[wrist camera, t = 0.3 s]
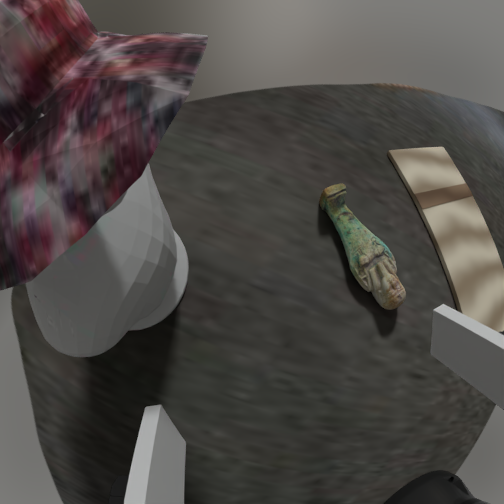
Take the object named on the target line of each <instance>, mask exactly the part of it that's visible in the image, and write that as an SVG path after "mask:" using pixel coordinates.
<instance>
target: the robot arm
mask: <svg viewBox="0 0 504 504" xmlns="http://www.w3.org/2000/svg"><path fill="white" fill-rule="evenodd" d="M430 354H431V355H432V356H434V357H435V358H436V359H438V360H439V361H440V362H442V363H443V364H444V365H446V366H447V367H448V368H450V369H451V370H452V371H454V372H455V373H456V374H458V375H459V376H460V377H462V378H463V379H464V380H466V381H467V382H468V383H470V384H471V385H472V386H473V387H475V388H476V389H477V390H479V391H480V392H481V393H483V394H484V395H485V396H486V397H488V398H489V399H490V400H492V401H493V402H494V403H495V404H497V405H498V406H499V407H500V408H502V409H503V410H504V332H501V331H500V332H497V331H495V330H493V329H491V328H489V327H487V326H485V325H483V324H481V323H479V322H478V321H476V320H474V319H472V318H470V317H468V316H466V315H464V314H462V313H460V312H458V311H456V310H454V309H452V308H450V307H448V306H446V305H444V304H443V305H441V306H439V307H437V308H436V309H434V310H433V327H432V341H431V352H430ZM185 452H186V442H185V440H184V439H183V438H182V436H181V435H180V433H179V432H178V430H177V429H176V427H175V426H174V424H173V423H172V421H171V420H170V418H169V417H168V415H167V413H166V412H165V410H164V409H163V407H162V405H155V406H148V407H145V411H144V414H143V418H142V422H141V426H140V430H139V434H138V438H137V443H136V447H135V451H134V456H133V460H132V465H131V469H130V474H129V476H120V475H119V476H118V478H117V479H116V480H115V482H114V483H113V485H112V489H111V493H110V496H111V497H109V502H108V504H184V479H185ZM384 504H489V503H487V502H484V501H481V500H479V499H477V498H474V496H473V495H472V494H471V492H470V491H469V490H468V488H467V487H466V486H465V484H464V483H463V482H462V480H461V479H460V478H459V477H458V476H456V475H454V474H452V473H450V472H447V471H443V470H439V471H433V472H430V473H427V474H425V475H422V476H420V477H418V478H416V479H415V480H413V481H411V482H410V483H408V484H407V485H405V486H404V487H403V488H401V489H400V490H399V491H397V492H396V493H395V494H394V495H393V496H392V497H390V498H389V499H388V500H387V501H386V502H385V503H384Z"/></svg>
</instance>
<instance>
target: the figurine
mask: <svg viewBox="0 0 504 504" xmlns="http://www.w3.org/2000/svg"><path fill="white" fill-rule="evenodd" d="M345 196H346V186H345V185H344V184H342V183H341V184H337V185H333V186H330V187H328V188H326V189H324V190H323V192H322V194H321V197H320V201H319V204H320V206H321V208H322V210H324V211H326V212H327V213H328V215H329V216H330V218H331V220H332V221H333V223H334V225H335V228H336V229H337V231H338V233H339V235H340V237H341V240H342V242H343V245H344V248H345V251H346V255H347V258H348V261H349V266H350V270H351V272H352V273H353V275H354V276H355V278H356V279H357V281H358V282H359V284H360V285H361V286H362V287H363V288H364V289H365V290H366V291H368V292H372V294H373V296H374V298H375V299H376V301H377V302H378V303H379V304H380V305H381V306H382V307H383V308H384V309H387V310H392V309H395V308H397V307H399V306H400V305H401V304H402V303H403V301H404V300H405V297H406V291H405V289H404V287H403V286H402V284H401V283H400V281H399V279H398V277H397V276H396V273H397V268H396V262H395V259H394V256H393V255H392V253H391V252H390V250H389V248H388V247H387V246H386V245H385V244H384V243H383V242H382V241H381V240H380V239H379V238H377V237H376V236H375V235H374V234H372V233H371V232H370V231H369V230H368V229H367V228H366V227H365V226H363V225H362V224H361V223H360V221H359V220H358V219H357V218H356V217H355V216H354V215H353V213H352V212H351V211H350V210H349V209H348V208H347V207H346V206H345Z"/></svg>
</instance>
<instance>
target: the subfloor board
mask: <svg viewBox="0 0 504 504" xmlns="http://www.w3.org/2000/svg"><path fill="white" fill-rule="evenodd" d="M387 155H388V157H389V158H390V160H391V161H392V163H393V165H394V166H395V168H396V170H397V172H398V173H399V175H400V177H401V178H402V180H403V182H404V184H405V186H406V187H407V189H408V191H409V193H410V195H411V197H412V199H413V201H414V203H415V205H416V206H417V208H418V210H419V213H420V215H421V217H422V219H423V221H424V223H425V225H426V227H427V229H428V232H429V234H430V236H431V238H432V241H433V243H434V245H435V248H436V250H437V253H438V255H439V258H440V260H441V263H442V265H443V268H444V271H445V273H446V276H447V279H448V282H449V285H450V287H451V290H452V293H453V297H454V300H455V303H456V306H457V310H458V312H460V313H462V314H464V315H466V316H468V317H470V318H472V319H474V320H476V321H478V322H479V323H481V324H483V325H485V326H487V327H489V328H491V329H493V330H495V331H497V332H500V331H501V332H503V331H504V269H503V266H502V263H501V260H500V257H499V254H498V252H497V249H496V247H495V244H494V241H493V239H492V237H491V234H490V232H489V229H488V227H487V225H486V223H485V220H484V218H483V216H482V214H481V212H480V210H479V208H478V206H477V204H476V202H475V200H474V198H473V195H472V193H471V191H470V189H469V188H468V186H467V184H466V183H465V181H464V180H463V178H462V176H461V174H460V173H459V171H458V169H457V168H456V166H455V164H454V163H453V161H452V160H451V158H450V157H449V155H448V153H447V152H446V150H445V149H444V147H429V148H413V149H400V150H389V151H388V152H387Z"/></svg>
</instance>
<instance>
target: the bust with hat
mask: <svg viewBox="0 0 504 504" xmlns="http://www.w3.org/2000/svg"><path fill="white" fill-rule="evenodd" d="M207 39H208V36H205V35H196V34H185V33H184V34H183V33H167V32H166V33H151V34H140V35H122V34H116V33H111V32H98V31H97V30H96V29H95V27H94V26H93V24H92V22H91V21H90V19H89V17H88V15H87V14H86V12H85V10H84V9H83V7H82V6H81V4H80V3H79V1H78V0H0V290H4V289H7V288H10V287H14V286H17V285H20V284H24V283H26V286H27V291H28V295H29V300H30V303H31V306H32V309H33V312H34V315H35V318H36V321H37V323H38V325H39V327H40V330H41V332H42V334H43V336H44V338H45V340H46V341H47V342H48V343H49V344H51V345H52V346H53V347H54V348H55V349H56V350H58V351H59V352H61V353H64V354H66V355H69V356H75V357H91V356H95V355H99V354H102V353H104V352H105V351H107V350H109V349H110V348H112V347H113V346H115V345H116V344H117V343H118V342H119V341H120V339H121V338H122V337H123V336H124V335H125V334H126V333H127V331H128V330H142V329H145V328H149V327H152V326H154V325H155V324H157V323H159V322H161V321H162V320H164V319H165V318H166V317H167V316H168V315H170V314H171V312H172V311H173V310H174V309H175V308H176V306H177V305H178V304H179V302H180V300H181V298H182V296H183V294H184V291H185V288H186V285H187V282H188V274H189V264H188V257H187V253H186V249H185V247H184V245H183V243H182V241H181V239H180V237H179V236H178V235H177V234H176V232H175V231H174V230H173V228H172V225H171V221H170V218H169V215H168V213H167V211H166V210H165V207H164V205H163V203H162V200H161V198H160V195H159V193H158V190H157V187H156V185H155V182H154V180H153V177H152V174H151V170H150V166H149V163H148V162H149V160H150V159H151V157H152V155H153V153H154V151H155V149H156V148H157V146H158V144H159V142H160V141H161V139H162V137H163V135H164V134H165V132H166V130H167V129H168V127H169V125H170V124H171V122H172V120H173V119H174V117H175V115H176V114H177V112H178V111H179V109H180V107H181V106H182V104H183V103H184V101H185V100H186V98H187V97H188V95H189V92H190V89H191V86H192V83H193V80H194V77H195V75H196V72H197V69H198V66H199V64H200V61H201V59H202V56H203V53H204V51H205V48H206V44H207Z"/></svg>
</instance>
